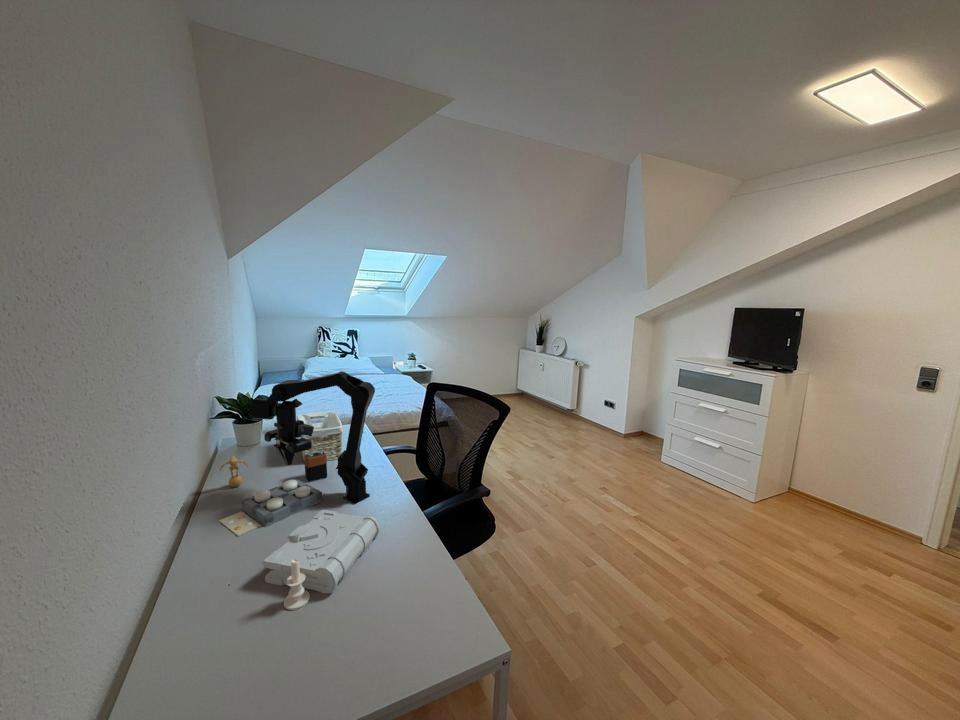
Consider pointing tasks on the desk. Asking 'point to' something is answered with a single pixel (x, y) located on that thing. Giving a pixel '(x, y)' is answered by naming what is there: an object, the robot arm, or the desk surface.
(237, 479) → the figurine
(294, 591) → the candle
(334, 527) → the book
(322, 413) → the storage basket
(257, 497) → the button
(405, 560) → the desk surface
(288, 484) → the button
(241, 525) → the pattern card
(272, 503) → the button
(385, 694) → the desk surface
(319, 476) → the battery
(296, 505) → the button board
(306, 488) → the button
